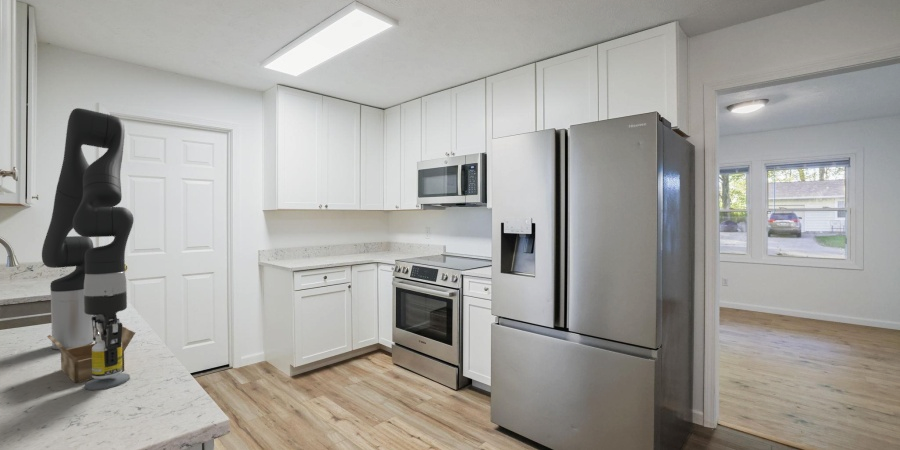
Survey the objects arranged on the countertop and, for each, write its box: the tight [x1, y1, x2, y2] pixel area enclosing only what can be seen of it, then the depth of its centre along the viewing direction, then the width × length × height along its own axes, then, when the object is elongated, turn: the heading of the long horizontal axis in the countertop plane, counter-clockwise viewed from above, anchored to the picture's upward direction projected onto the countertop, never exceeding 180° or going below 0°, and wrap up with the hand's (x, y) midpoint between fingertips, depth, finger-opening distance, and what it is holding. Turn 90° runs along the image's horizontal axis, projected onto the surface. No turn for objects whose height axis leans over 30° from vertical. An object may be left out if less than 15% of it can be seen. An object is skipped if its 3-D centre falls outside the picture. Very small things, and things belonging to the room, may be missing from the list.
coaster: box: [84, 372, 131, 391], centre depth 92 cm, size 8×8×1 cm
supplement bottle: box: [92, 334, 123, 379], centre depth 92 cm, size 5×5×10 cm
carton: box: [46, 325, 136, 384], centre depth 100 cm, size 14×14×10 cm
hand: (107, 362), depth 92 cm, fingers closed on supplement bottle, 5 cm apart
